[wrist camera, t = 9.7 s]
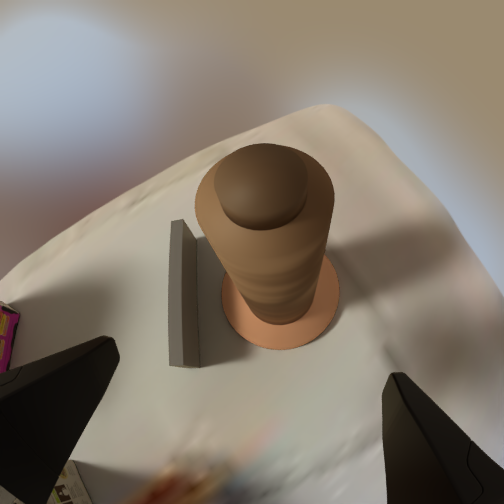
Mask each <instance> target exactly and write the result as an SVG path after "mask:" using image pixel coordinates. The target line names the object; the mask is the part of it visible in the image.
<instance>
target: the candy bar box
mask: <svg viewBox="0 0 504 504" xmlns="http://www.w3.org/2000/svg"><path fill="white" fill-rule="evenodd" d="M19 314H20V313H18V312H17V311H15V310H14V309H12V308H11V307H10V306H8V305H7V304H5V303H4V302H2V301H0V373H3V372H6V371H8V369H9V363H10V357H11V351H12V346H13V341H14V336H15V332H16V327H17V323H18V319H19Z"/></svg>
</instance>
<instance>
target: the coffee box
mask: <svg viewBox="0 0 504 504" xmlns="http://www.w3.org/2000/svg"><path fill="white" fill-rule="evenodd" d="M15 502H16V503H17V504H24V503H23V502H21V501H20V500H19V499H16V501H15ZM47 504H92V502H91V500H90V498H89V496H88V493H87V491H86V489H85V487H84V485H83V483H82V480H81V478H80V476H79V473H78V471H77V468H76V466H75V463H74V462H73V461H72V460H68V461H67V463H66V465H65V467H64V469H63V471H62V472H61V474H60V476H59V479H58V481H57V483H56V485H55V487H54V489H53V491H52V493H51V495H50V497H49V499H48V502H47Z"/></svg>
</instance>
